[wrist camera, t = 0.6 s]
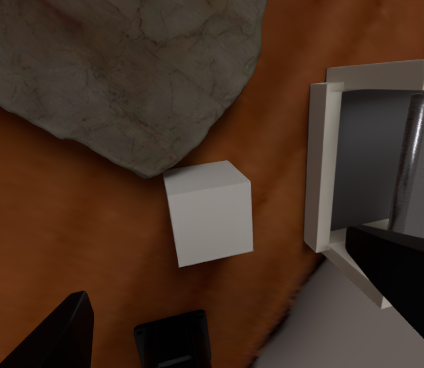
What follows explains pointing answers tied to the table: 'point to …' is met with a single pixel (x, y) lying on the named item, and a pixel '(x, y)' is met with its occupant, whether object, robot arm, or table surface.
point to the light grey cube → (209, 211)
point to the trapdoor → (410, 175)
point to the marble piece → (128, 71)
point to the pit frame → (355, 155)
